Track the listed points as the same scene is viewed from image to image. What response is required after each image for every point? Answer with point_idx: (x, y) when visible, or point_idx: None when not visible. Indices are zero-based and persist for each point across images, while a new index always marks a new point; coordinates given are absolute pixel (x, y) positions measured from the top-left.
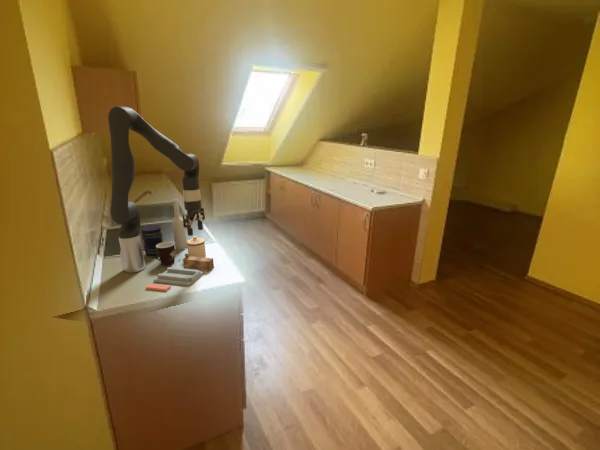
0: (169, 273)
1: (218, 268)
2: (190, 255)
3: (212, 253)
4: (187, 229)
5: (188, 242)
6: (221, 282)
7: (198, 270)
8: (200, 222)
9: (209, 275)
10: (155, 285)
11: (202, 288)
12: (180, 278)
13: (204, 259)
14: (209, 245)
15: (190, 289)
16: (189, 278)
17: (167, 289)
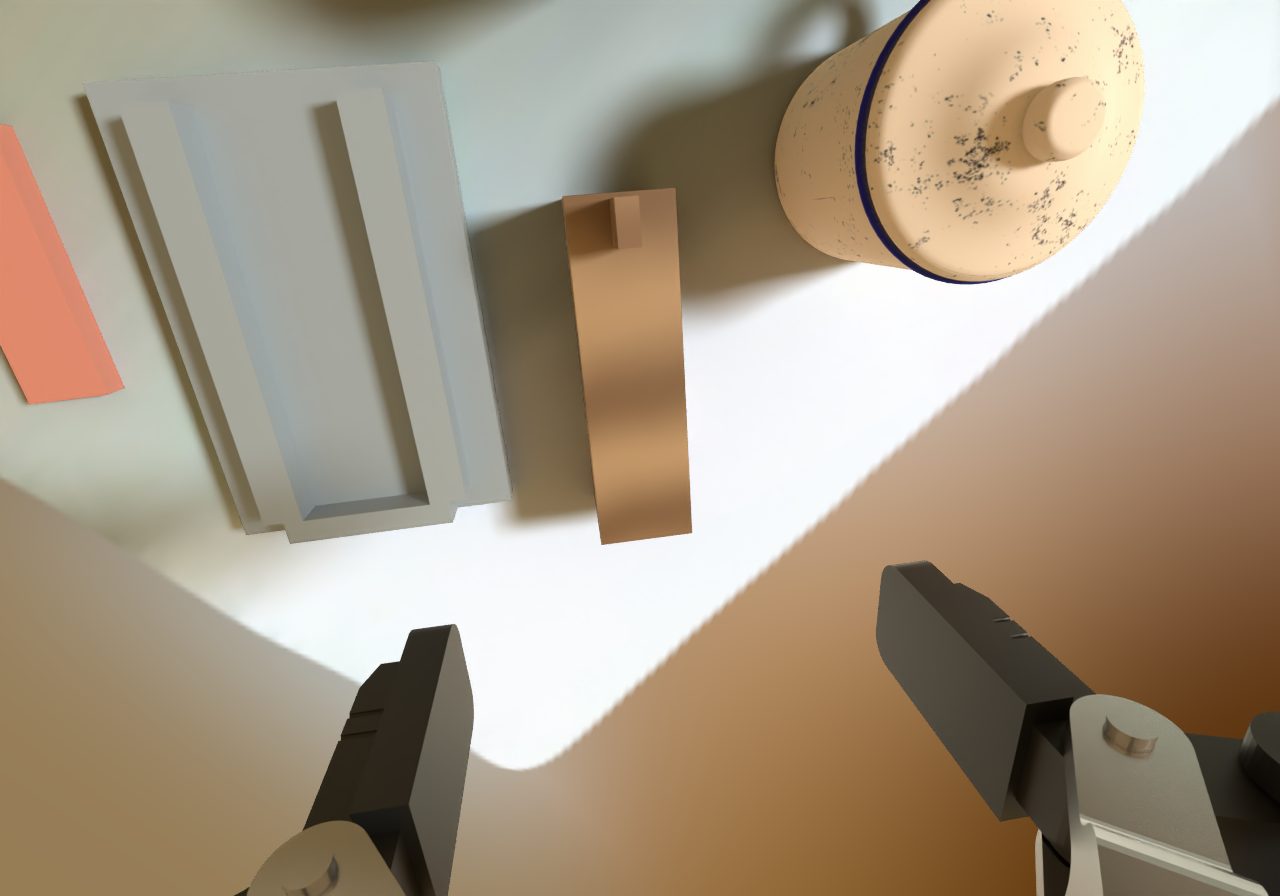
0: (314, 172)
1: None
2: (799, 123)
3: None
4: (311, 815)
5: (924, 49)
6: None
7: (458, 495)
8: (1021, 787)
9: (511, 549)
10: (4, 226)
11: (285, 636)
12: (236, 428)
13: (639, 466)
14: (1232, 69)
15: (215, 565)
16: (272, 523)
17: (57, 399)
